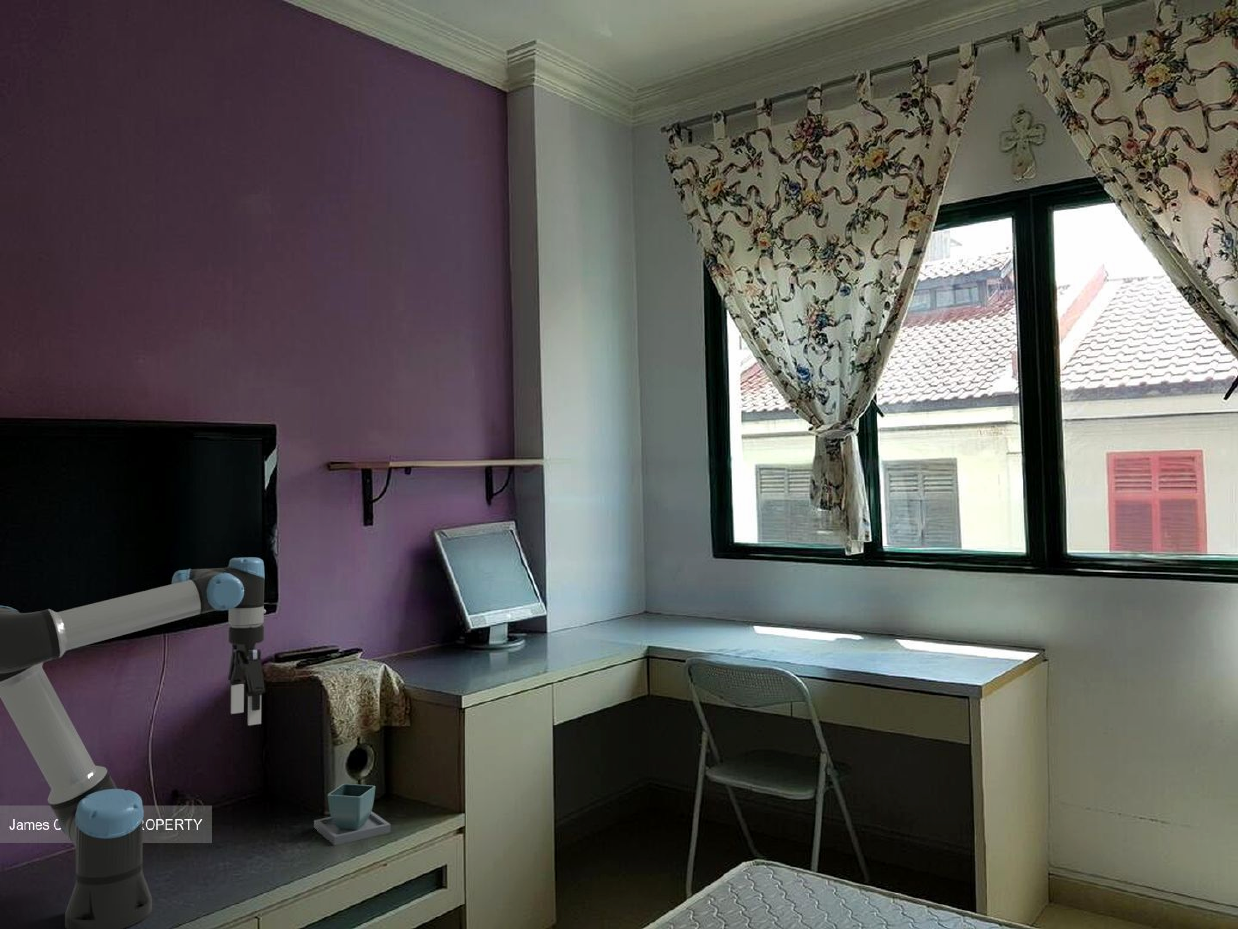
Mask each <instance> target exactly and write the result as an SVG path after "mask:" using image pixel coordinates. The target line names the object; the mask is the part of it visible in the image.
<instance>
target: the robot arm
mask: <svg viewBox="0 0 1238 929" xmlns="http://www.w3.org/2000/svg"><path fill="white" fill-rule="evenodd" d="M264 564H265V563H264V560H263V559H261V558H260V557H254V556H253V557H252V556H251V557H250V556H249V557H233V558H231V559H230V560H229V563H228V564H227V565H228V566H226V567H218V568H194V569H193V568H188V569H182V570H181V569H179V570H177V571H175V572H174V574H173V576H172V578H171V584H168V585H163V586H160V587H159V586H158V587H155V588H151V589H148V590H147V589H146V590H145V591H144V590H143V591H139V592H135V593H131V594H127V595H122V596H119V597H115V598H110V599H107V600H102V601H99V602H94V603H91V604H86V605H82V606H78V607H73V608H70V609H66V610H62V611H58V612H57V611H54V610H52V609H50V608H48V609H44V610H40V611H34V612H20V611H18V610H17V609H15V608H13V607H10V606H4V605H0V699H1V701H2V703H3V705H4V707H5V708H6V710H7V713H9V716H10V717H11V719H12V721H13V723H14V725H15V727H16V728H17V730H18V732H19V734H20V735H21V738H22V739H23V741H24V743H25V745H26V746H27V748H28V750H29V752H30V754H31V755H32V757H33V759H34V760H35V762H36V764H37V766H38V768H39V769H40V771H41V773H42V774H43V775H42V776H44V779H45V780H46V782H47V785H48V786H49V788H50V789H51V790H50V792H49V795H48V797H47V802H48V804H49V806H50V808H51V809H52V811H53V813H54V814H55V816H56V819H57V823H58V826H59V828H60V829H61V831H62V832H63V834H64V835H66V836H67V838H68V839H69V840H70V841H71V842H72V844H73V846H74V847H75V884H74V888H73V890H72V893H71V895H70V899H69V902H68V904H67V907H66V910H65V914H64V927H65V929H126V928H128V927H129V928H130V927H131V926H134V925H136V924H138V923H140V922H142V921H143V920H144V919H146V918H147V917H148V916H149V915H150V914H151V912H152V911H153V910H152V909H153V907H152V906H153V897H152V894H151V892H150V890H149V886H148V884H147V881H146V879H145V876H144V872H143V848H144V847H143V846H144V845H143V838H144V835H143V834H144V832H143V831H144V830H143V828H144V827H143V826H144V824H143V823H144V821H143V820H144V814H145V810H144V808H143V807H144V806H143V800H142V797H141V796H140V795H139V794H138V793H136V792H135V791H132V790H130V789H127V790H125V789H124V788H117V785H116V783H115V782H114V780H113V779H112V777H111V775H110V773H109V771H108V769H107V768H106V767H105V766H101V765H95V763H94V761H93V759H92V757H91V755H90V754H89V752H88V750H87V749H86V746H85V745H84V742H83V741H82V739H81V737H80V734H78V731H77V730H76V728H75V726H74V724H73V722H72V720H71V719H70V716H69V715H68V713H67V711H66V710H65V708H64V705H63V704H62V702H61V700H60V698H59V696H58V694H57V692H56V691H55V689H54V686H53V685H52V683H51V682H50V680H49V678H48V676H47V674H46V672H45V670H44V669H43V668H44V667H43V664H44V663H46V662H49V661H52V660H56V659H60V658H62V657H63V655H64V654H65V652H67V651H69V650H73V649H77V648H80V647H83V646H87V645H91V644H95V643H98V642H102V641H105V640H109V639H112V638H117V637H121V636H123V635H128V634H132V633H134V632H135V633H136V632H138V631H143V630H147V629H150V628H154V627H158V626H161V625H164V624H168V623H171V622H175V621H179V620H183V619H186V618H190V617H193V616H197V615H201V614H205V613H209V612H213V611H221V612H223V611H228V625H229V626H230V627H229V628H228V643H229V644H231V646H232V647H231V658H230V665H229V669H228V670H229V671H228V674H227V675H228V677H227V680H228V681H229V683H230V714H231V715H232V714H233V715H234V714H241V713H244V712H245V711H244V709H245V708H244V706H245V683H246V682H247V684H246V685H247V687H248V688H247V689H248V691H247V693H246V697H247V726H254V725H261V724H262V695H263V694H265V692H266V689H265V687H266V686H265V681H264V674H263V667H262V666H263V664H262V653H261V652H262V651H261V649H256V644H259V643H262V642H264V638H265V626H264V625H263V624H264V623H265V622H264V620H265V619H264V616H265V614H266V613H267V610H266V609H265V608H264V607H265V606H264V604H265V603H264V601H265V576H266V575H265V565H264ZM245 679H246V680H245Z"/></svg>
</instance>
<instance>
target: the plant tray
mask: <svg viewBox="0 0 1238 929" xmlns="http://www.w3.org/2000/svg"><path fill="white" fill-rule="evenodd" d="M391 825H392V824H391V823H389V822H388V821H386V820H385V819H383V818H382V817H381V816H380V815H378V814H376V813H375V812H373V811H371V813H370V816H369V818H368V819H367V821H366V823H365V824H363V825H362V826H361V827H360V828H359V829H357V830H349V829H338V828H337V827H336V825H335V824H334V822H333V821H332V818H331V816H329V817H324V818H319V819H315V820H313V829H314V828H315V829H316V830H317V832H318V833H319V834H320V835H321V834H322V835H323V836H322V835H321V836H322V837H324V838H325V839H326V840H327V841H328V840H329V841H328V842H329V843H331V844H332V845H333V846H338V845H343V844H348V843H351V842H352V843H353V842H355V841H360V840H364V839H369V838H374V837H378V836H382V835H386V834H390V833H391V830H392V828H391V827H392V826H391ZM315 829H314V830H315ZM316 830H315V831H316Z"/></svg>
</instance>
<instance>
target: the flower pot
mask: <svg viewBox="0 0 1238 929" xmlns="http://www.w3.org/2000/svg"><path fill="white" fill-rule="evenodd" d="M375 793H376V786H375V785H367V784H354V783H353V784H352V783H342V784H341V785H340V786H338V787H336V788H334V790H332V791H331V792H329V793H328V794H327V795H326V796H327V802H328V810H329V816H330V817H331V818H332V821H333V822H334V824H335V825H336V827H337V828H338V829H349V830H357V829H359V828H360V827H361V826H362V825H363V824H365V823H366V821H367V819H368V818H369V816H370V813H371V811H372V810H373V807H374V801H375ZM372 812H373V811H372Z"/></svg>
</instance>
